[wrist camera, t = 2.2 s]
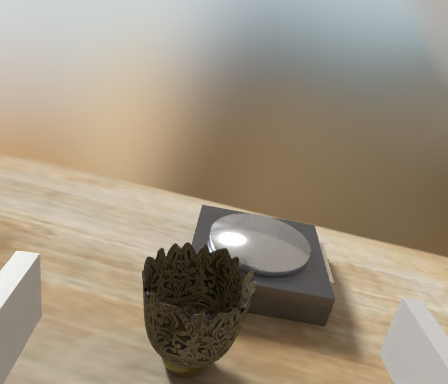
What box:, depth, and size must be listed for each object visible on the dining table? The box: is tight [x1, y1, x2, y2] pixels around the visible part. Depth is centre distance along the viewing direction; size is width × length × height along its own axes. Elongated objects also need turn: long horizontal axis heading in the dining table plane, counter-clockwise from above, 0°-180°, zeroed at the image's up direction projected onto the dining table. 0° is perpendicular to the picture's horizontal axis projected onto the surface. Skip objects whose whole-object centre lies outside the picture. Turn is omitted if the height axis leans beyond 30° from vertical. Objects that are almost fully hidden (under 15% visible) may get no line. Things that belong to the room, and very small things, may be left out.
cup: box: [142, 243, 257, 377], centre depth 28 cm, size 8×7×8 cm
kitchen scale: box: [192, 205, 335, 326], centre depth 41 cm, size 14×13×4 cm
